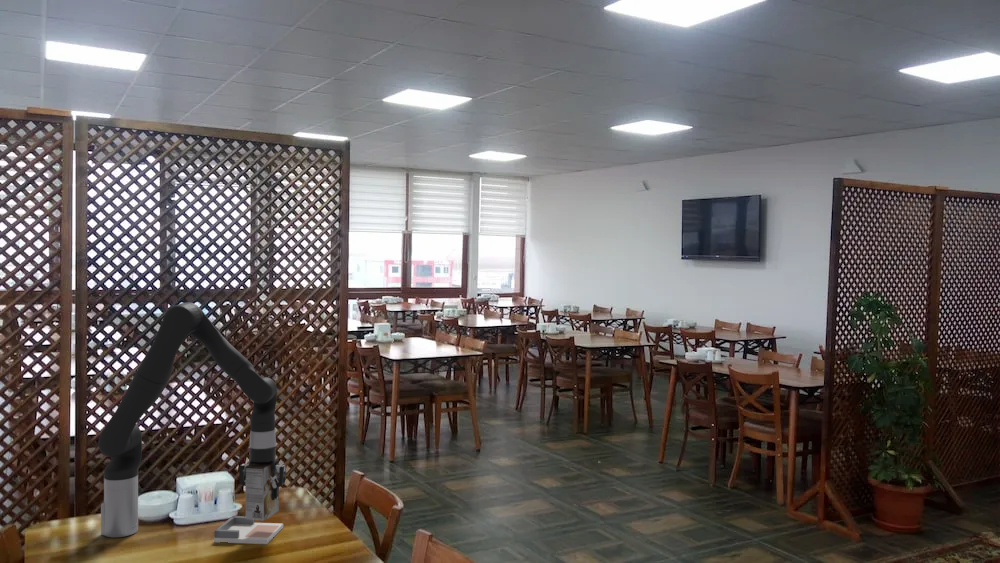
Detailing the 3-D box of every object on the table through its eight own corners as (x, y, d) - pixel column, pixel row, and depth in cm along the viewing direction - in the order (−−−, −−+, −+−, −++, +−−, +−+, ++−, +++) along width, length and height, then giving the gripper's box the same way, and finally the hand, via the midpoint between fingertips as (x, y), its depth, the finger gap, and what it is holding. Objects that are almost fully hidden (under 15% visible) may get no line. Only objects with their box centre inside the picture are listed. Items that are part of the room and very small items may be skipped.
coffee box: (260, 509, 233) (260, 458, 233) (279, 511, 232) (279, 459, 232) (244, 519, 224) (244, 465, 224) (264, 521, 223) (264, 467, 223)
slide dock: (213, 542, 222) (213, 531, 222) (233, 525, 236) (233, 515, 236) (267, 544, 221) (267, 533, 221) (283, 527, 235) (283, 517, 235)
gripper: (234, 447, 224) (234, 502, 225) (281, 448, 224) (281, 503, 224) (244, 441, 232) (244, 494, 232) (290, 442, 231) (289, 496, 231)
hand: (262, 499), depth 228 cm, fingers closed on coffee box, 7 cm apart
